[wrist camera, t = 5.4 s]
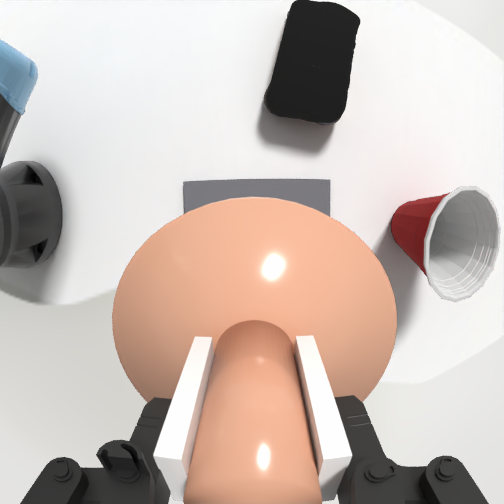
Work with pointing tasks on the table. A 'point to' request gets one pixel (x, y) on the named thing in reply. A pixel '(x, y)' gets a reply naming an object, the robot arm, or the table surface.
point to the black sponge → (313, 63)
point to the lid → (254, 335)
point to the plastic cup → (450, 239)
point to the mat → (259, 191)
